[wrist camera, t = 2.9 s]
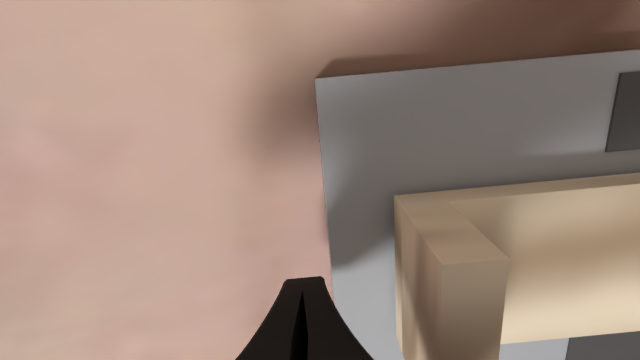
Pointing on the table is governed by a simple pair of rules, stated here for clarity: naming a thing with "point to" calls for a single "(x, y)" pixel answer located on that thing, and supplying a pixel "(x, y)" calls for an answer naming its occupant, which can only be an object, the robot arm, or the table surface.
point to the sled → (516, 265)
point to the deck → (464, 164)
